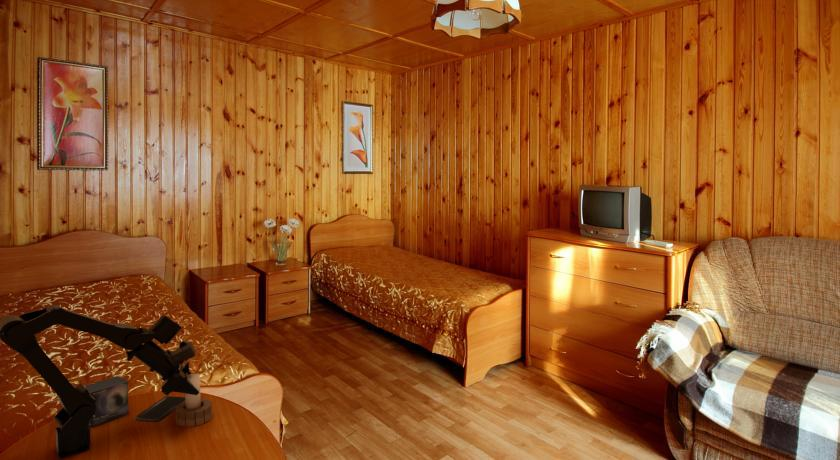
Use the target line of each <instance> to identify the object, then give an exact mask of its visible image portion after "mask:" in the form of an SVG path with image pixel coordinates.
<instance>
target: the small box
mask: <svg viewBox="0 0 840 460" xmlns="http://www.w3.org/2000/svg"><path fill="white" fill-rule="evenodd" d="M83 386H84V387H85V388H86V389H87V390H88V392H89V393H90V394H91V395H92V396H93V397H94V398H95V399H96V400H97V401H96V402H94V403H95V405H96V408H97V409H96V412H95V414H94V415H93V417H92V418H90V421H89V423H88V427H89V428H94V427H97V426H99V425H102V424H104V423H107V422H110V421H112V420H115V419H118V418H122V417H124V416H127V415H129V414H130V412H129V411H130V409H129V405H130V404H129V380H128V379H125V378H123V377H121V376H118V375H116V376H113V377H110V378H107V379H103V380H99V381H97V382H92V383H89V384H86V385H83Z"/></svg>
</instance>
